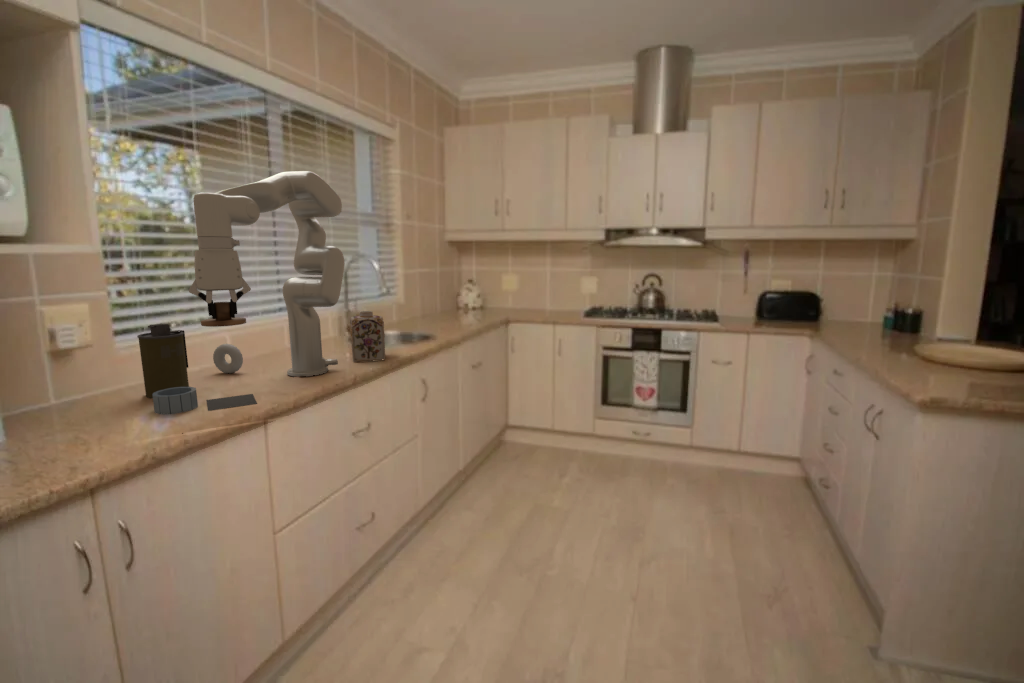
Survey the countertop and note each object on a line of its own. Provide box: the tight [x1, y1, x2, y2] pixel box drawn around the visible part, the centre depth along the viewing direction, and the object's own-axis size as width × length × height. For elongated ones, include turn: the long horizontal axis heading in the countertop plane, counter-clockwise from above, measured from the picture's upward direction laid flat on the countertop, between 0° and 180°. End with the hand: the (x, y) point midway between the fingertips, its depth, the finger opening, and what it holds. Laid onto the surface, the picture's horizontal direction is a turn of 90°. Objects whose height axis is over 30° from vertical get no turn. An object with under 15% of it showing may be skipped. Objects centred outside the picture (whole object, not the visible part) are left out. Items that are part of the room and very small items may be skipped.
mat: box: [206, 393, 258, 412], centre depth 130 cm, size 11×11×1 cm
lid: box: [200, 301, 247, 328], centre depth 126 cm, size 10×10×6 cm
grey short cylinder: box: [152, 386, 199, 415], centre depth 124 cm, size 9×9×5 cm
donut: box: [212, 343, 244, 374], centre depth 162 cm, size 10×4×10 cm, turn 81°
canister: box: [137, 323, 190, 399], centre depth 136 cm, size 11×10×20 cm
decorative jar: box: [349, 310, 386, 363], centre depth 186 cm, size 12×12×18 cm
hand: (223, 317), depth 126 cm, fingers closed on lid, 3 cm apart
